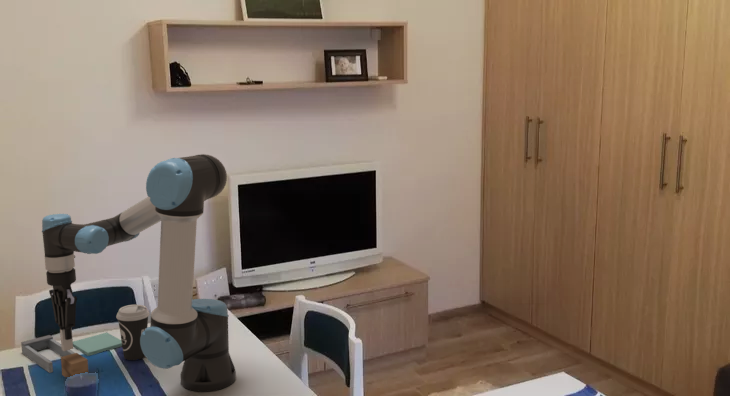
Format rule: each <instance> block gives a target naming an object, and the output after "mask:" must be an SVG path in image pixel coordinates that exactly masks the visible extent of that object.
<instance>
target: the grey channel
mask: <svg viewBox="0 0 730 396" xmlns="http://www.w3.org/2000/svg"><path fill="white" fill-rule="evenodd" d="M20 345H21V354H22V355H23V356H25V357H26V358H28V359H29V360H31V361H32V362H34V363H35V364H36V365H37V366H39V367H40V368H42V369H43V370H44V371H46V372H48V373H49V374H50V373H53V372H54V366H53V364H54V363H53V361H51V359H49V358H47V357H46V356H44V355H43V354H42V353H40V352H39V351H40V350H45V349H48V348H49V349H50V350H51V351H53V352H54V353H56V354H58V355H59V356H60V357H63V356H67V355H70V354H74V353H76V352H75V351H73V350H72V349H70V350H66V351H63V350H62V348H61V342H59V341H57V340H56V339H54V337H53V336H52V335H50V334H48V335H44V336H40V337H35V338H32V339H28V340H25V341H21V342H20Z"/></svg>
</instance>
